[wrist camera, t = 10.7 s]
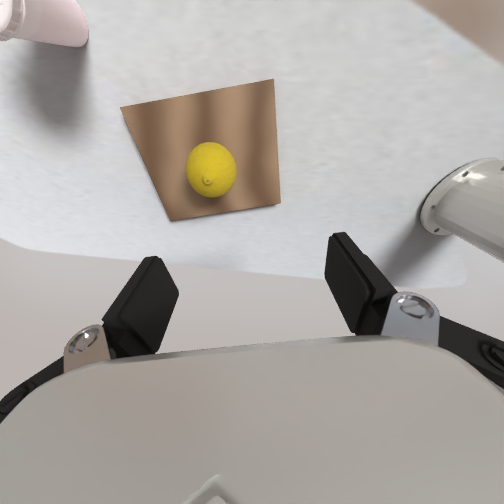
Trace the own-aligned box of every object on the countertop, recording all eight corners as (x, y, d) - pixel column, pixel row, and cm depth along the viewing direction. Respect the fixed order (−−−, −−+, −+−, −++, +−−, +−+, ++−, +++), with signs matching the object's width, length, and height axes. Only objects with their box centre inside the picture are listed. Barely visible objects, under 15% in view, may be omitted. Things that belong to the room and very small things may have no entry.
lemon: (208, 191, 27) (198, 215, 20) (184, 150, 24) (164, 165, 17) (244, 173, 26) (245, 194, 19) (224, 129, 23) (218, 136, 16)
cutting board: (271, 80, 21) (273, 78, 20) (278, 199, 30) (280, 203, 29) (126, 107, 22) (119, 107, 21) (173, 216, 30) (170, 220, 29)
